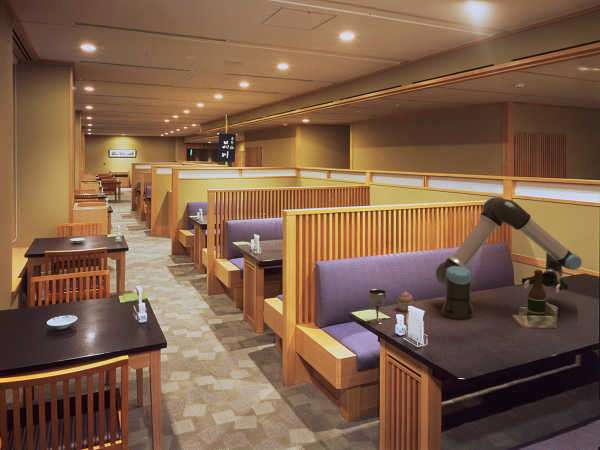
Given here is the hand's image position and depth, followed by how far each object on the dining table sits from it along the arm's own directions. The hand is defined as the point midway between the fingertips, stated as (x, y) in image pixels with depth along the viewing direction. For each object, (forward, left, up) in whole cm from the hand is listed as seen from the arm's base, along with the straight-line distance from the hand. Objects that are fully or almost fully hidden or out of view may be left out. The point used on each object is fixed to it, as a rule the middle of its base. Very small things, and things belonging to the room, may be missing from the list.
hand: (540, 287), depth 224 cm
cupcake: (-62, +11, -16) cm, 65 cm away
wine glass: (-77, -7, -16) cm, 79 cm away
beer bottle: (-3, -4, -15) cm, 16 cm away
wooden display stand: (-3, -4, -16) cm, 17 cm away
